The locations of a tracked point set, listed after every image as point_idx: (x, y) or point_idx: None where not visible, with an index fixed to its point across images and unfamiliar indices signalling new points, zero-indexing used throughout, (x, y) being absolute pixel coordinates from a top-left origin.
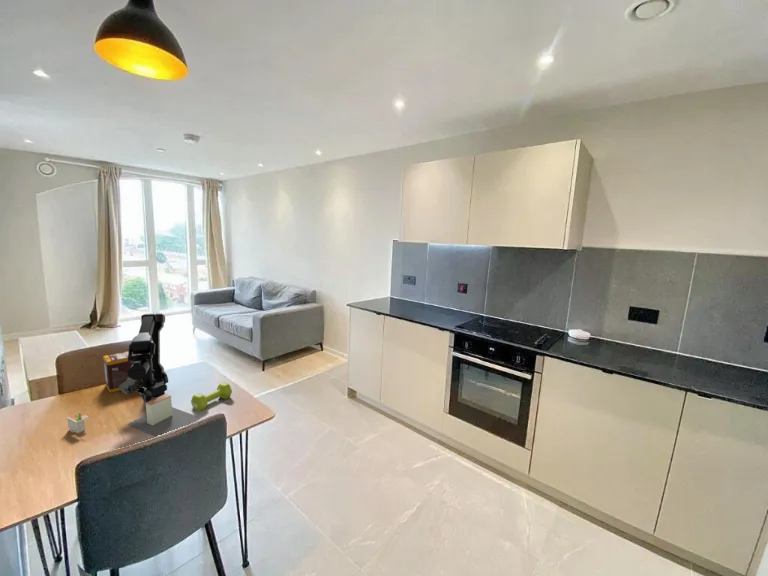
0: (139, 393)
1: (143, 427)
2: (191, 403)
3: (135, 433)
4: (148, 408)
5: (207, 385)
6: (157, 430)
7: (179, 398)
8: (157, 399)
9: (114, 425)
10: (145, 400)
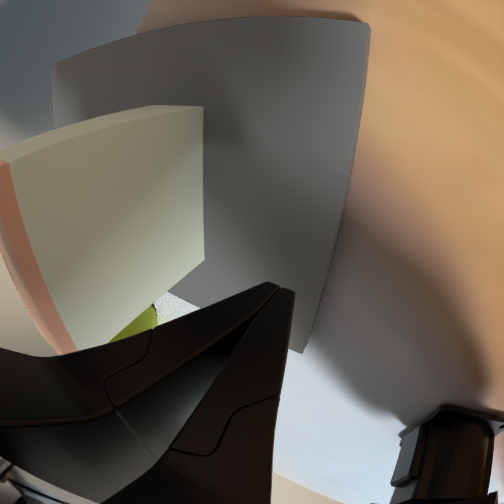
0: (264, 499)
1: (178, 56)
2: (139, 331)
3: (195, 3)
4: (37, 141)
5: (281, 456)
6: (99, 87)
7: (311, 408)
8: (12, 266)
9: (494, 25)
10: (204, 315)
